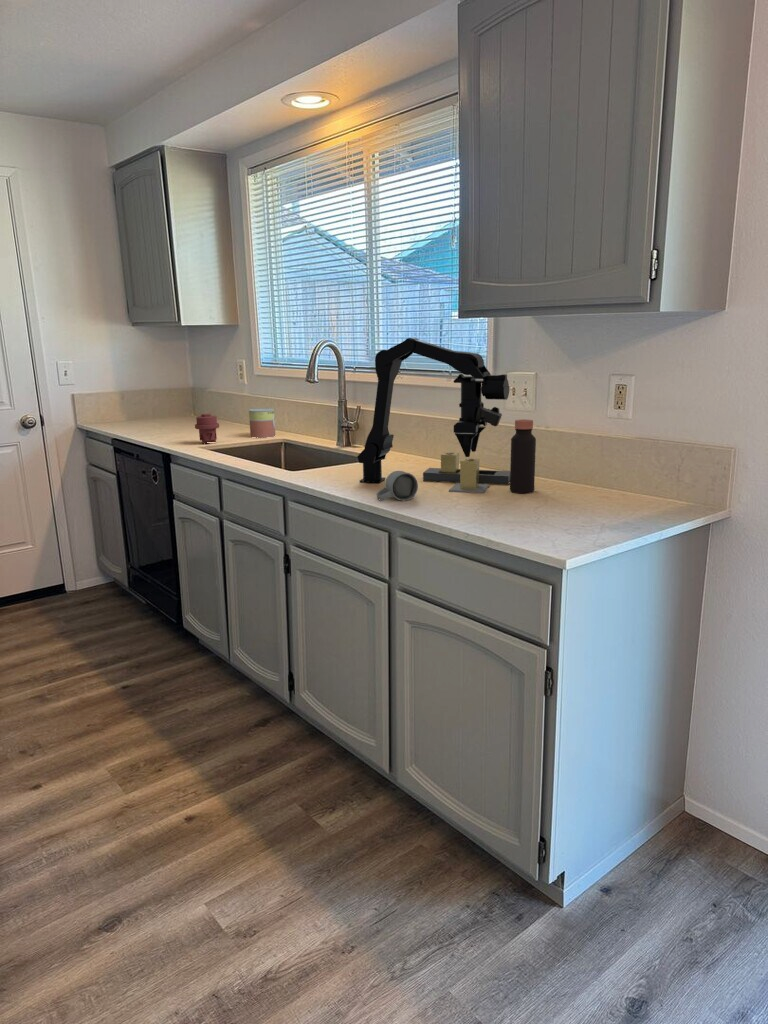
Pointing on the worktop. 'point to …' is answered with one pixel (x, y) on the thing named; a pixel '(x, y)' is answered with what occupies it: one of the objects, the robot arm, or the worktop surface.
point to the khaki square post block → (450, 462)
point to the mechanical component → (207, 427)
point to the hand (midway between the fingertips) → (470, 454)
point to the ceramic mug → (399, 486)
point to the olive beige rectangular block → (469, 473)
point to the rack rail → (436, 475)
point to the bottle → (522, 457)
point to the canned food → (262, 422)
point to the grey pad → (480, 489)
